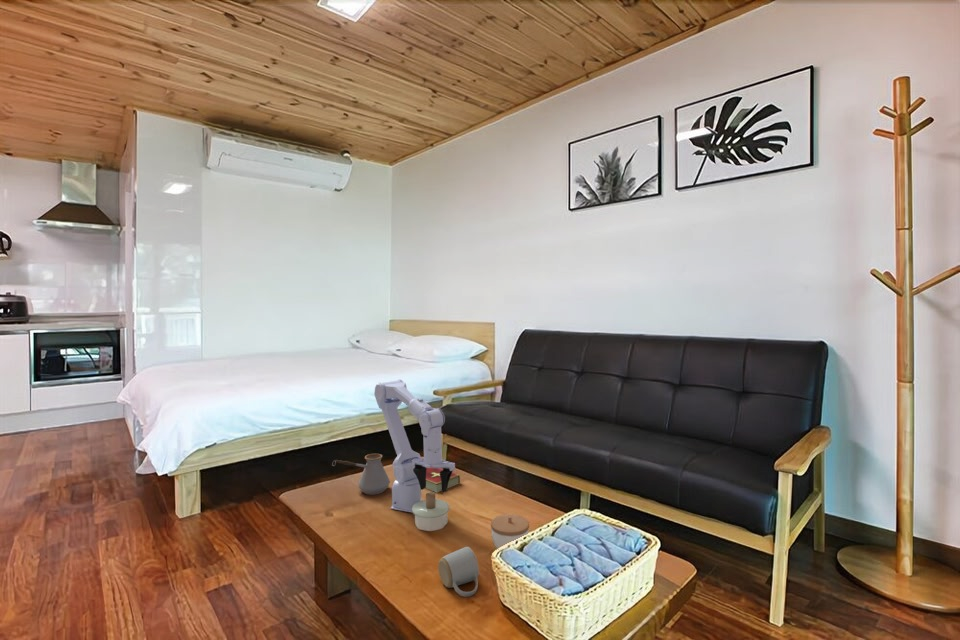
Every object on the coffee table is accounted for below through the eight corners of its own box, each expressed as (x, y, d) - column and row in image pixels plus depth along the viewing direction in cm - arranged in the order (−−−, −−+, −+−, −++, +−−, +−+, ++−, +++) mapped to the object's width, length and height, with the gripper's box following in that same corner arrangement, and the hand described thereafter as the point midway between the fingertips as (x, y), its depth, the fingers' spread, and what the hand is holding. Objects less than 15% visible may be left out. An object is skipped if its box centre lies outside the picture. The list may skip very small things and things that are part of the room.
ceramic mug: (436, 579, 117) (436, 550, 117) (464, 569, 121) (464, 541, 121) (457, 603, 108) (456, 571, 108) (486, 591, 112) (486, 561, 112)
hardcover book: (424, 471, 192) (423, 461, 192) (460, 484, 178) (459, 473, 178) (400, 479, 184) (400, 469, 183) (436, 494, 169) (436, 483, 169)
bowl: (410, 527, 144) (410, 513, 144) (425, 514, 153) (424, 501, 153) (437, 532, 141) (437, 518, 140) (451, 519, 149) (450, 505, 149)
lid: (405, 515, 142) (405, 500, 142) (421, 499, 154) (421, 485, 153) (441, 520, 139) (441, 504, 139) (454, 503, 150) (454, 489, 150)
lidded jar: (527, 562, 124) (527, 527, 124) (487, 558, 127) (487, 524, 126) (531, 541, 135) (530, 510, 135) (494, 538, 137) (494, 507, 137)
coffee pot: (380, 481, 181) (380, 443, 180) (395, 491, 172) (395, 451, 171) (327, 497, 167) (326, 456, 166) (340, 508, 158) (339, 464, 157)
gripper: (406, 449, 147) (407, 491, 147) (447, 453, 141) (448, 498, 142) (417, 443, 153) (418, 483, 154) (457, 447, 148) (458, 489, 148)
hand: (433, 490), depth 148 cm, fingers open, 7 cm apart
